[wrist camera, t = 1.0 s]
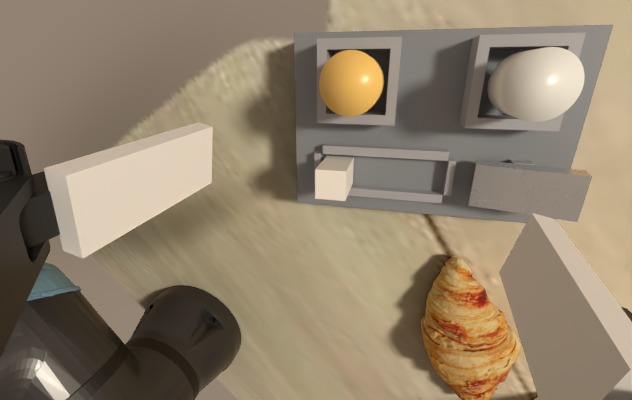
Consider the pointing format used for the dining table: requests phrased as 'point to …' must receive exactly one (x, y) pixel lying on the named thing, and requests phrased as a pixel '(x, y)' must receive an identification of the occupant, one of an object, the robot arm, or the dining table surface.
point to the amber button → (351, 83)
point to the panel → (434, 115)
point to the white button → (536, 83)
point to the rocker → (529, 189)
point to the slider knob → (334, 178)
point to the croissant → (467, 334)
